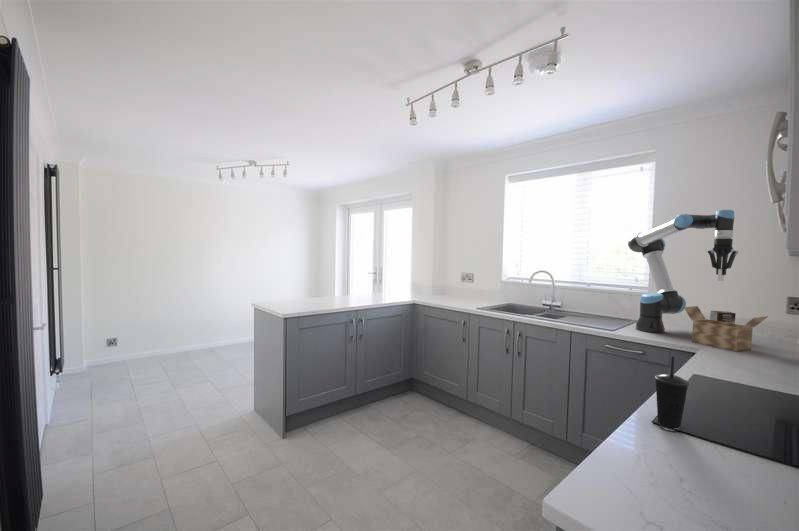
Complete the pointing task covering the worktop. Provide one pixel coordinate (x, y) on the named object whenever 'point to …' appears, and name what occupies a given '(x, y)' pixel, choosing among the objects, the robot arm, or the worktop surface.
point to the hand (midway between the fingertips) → (720, 280)
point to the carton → (722, 335)
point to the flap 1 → (694, 313)
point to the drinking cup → (670, 398)
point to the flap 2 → (754, 322)
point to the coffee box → (723, 316)
